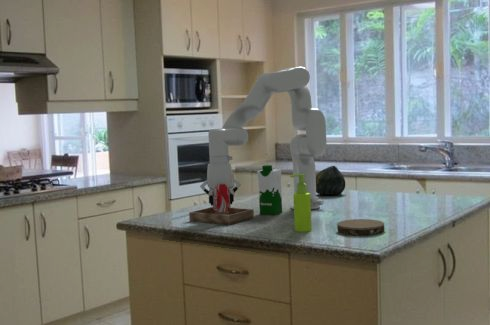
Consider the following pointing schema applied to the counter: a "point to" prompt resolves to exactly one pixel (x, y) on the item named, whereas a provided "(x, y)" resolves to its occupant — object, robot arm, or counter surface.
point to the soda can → (221, 199)
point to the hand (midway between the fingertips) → (221, 204)
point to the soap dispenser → (302, 206)
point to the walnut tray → (221, 216)
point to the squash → (330, 181)
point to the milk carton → (270, 190)
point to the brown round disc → (360, 227)
